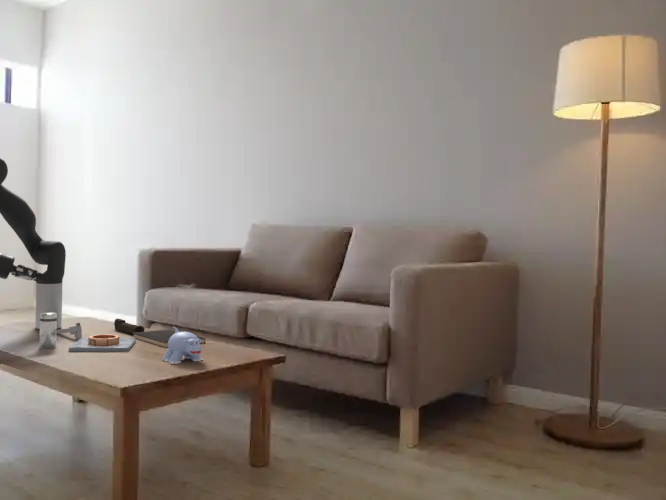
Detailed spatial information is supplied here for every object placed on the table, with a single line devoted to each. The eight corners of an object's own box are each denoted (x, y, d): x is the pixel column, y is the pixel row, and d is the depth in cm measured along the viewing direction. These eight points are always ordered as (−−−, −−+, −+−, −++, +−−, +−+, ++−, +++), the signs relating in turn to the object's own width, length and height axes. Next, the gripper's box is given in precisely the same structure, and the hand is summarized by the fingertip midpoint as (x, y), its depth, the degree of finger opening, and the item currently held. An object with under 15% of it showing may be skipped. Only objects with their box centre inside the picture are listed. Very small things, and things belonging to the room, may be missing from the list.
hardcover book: (164, 349, 216) (164, 342, 216) (132, 339, 232) (132, 332, 232) (205, 344, 227) (205, 337, 227) (172, 335, 243) (172, 329, 243)
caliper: (81, 341, 224) (82, 323, 223) (78, 341, 223) (79, 323, 223) (55, 333, 237) (55, 316, 237) (52, 333, 237) (52, 316, 236)
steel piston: (41, 345, 211) (42, 312, 211) (58, 346, 212) (58, 312, 212) (37, 348, 206) (37, 314, 206) (54, 348, 207) (54, 314, 207)
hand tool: (144, 336, 237) (145, 323, 237) (134, 337, 234) (134, 324, 234) (121, 329, 251) (122, 317, 251) (111, 330, 248) (112, 318, 248)
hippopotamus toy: (179, 368, 186) (180, 335, 185) (157, 358, 197) (158, 327, 197) (213, 364, 192) (214, 332, 192) (189, 355, 204) (190, 325, 204)
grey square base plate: (81, 341, 221) (81, 332, 221) (135, 341, 224) (135, 332, 224) (68, 351, 204) (68, 341, 203) (128, 351, 207) (128, 341, 206)
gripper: (1, 250, 199) (55, 268, 207) (-3, 254, 212) (48, 270, 219) (-8, 273, 198) (46, 290, 205) (-11, 275, 210) (40, 291, 217)
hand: (47, 280), depth 212 cm, fingers open, 8 cm apart
